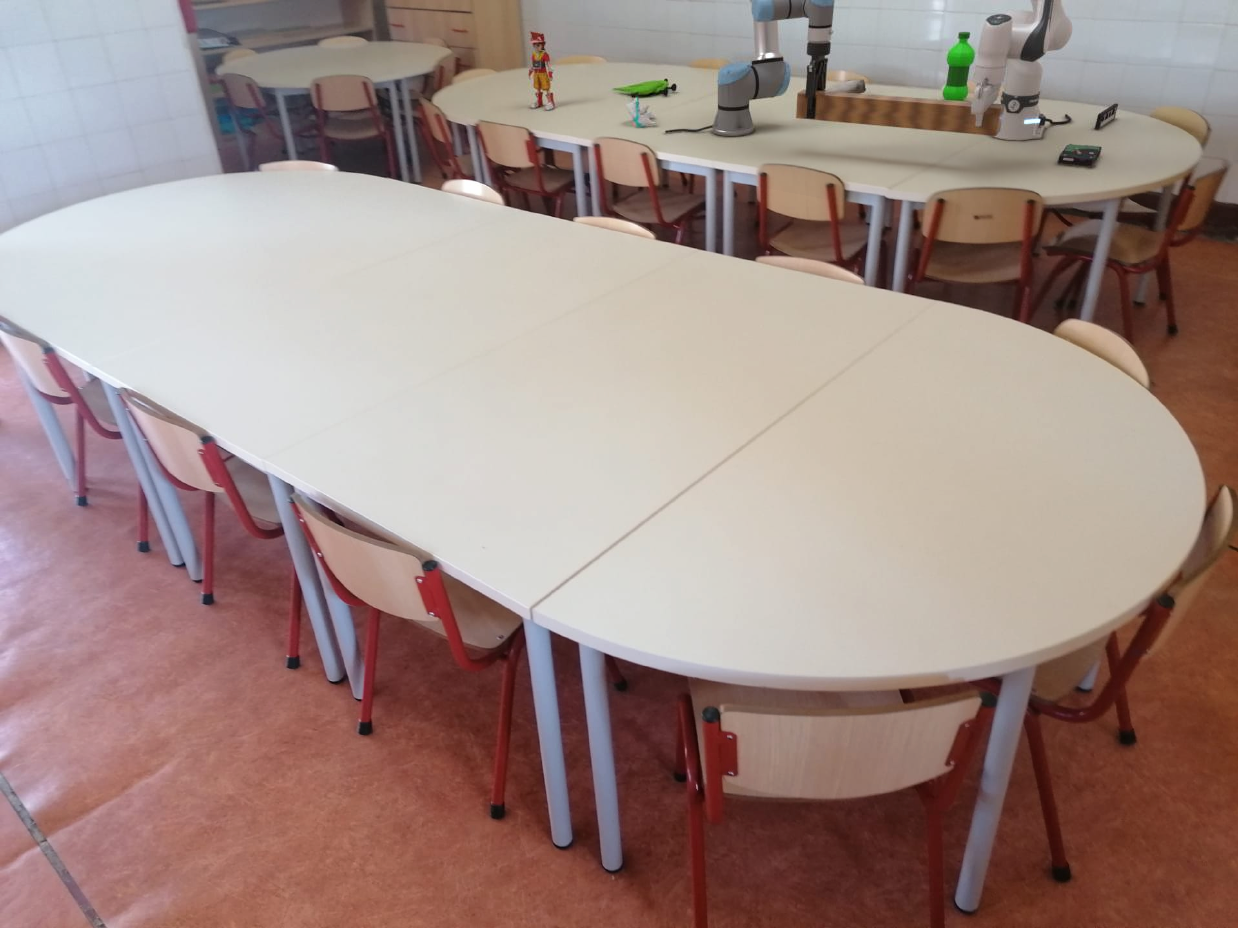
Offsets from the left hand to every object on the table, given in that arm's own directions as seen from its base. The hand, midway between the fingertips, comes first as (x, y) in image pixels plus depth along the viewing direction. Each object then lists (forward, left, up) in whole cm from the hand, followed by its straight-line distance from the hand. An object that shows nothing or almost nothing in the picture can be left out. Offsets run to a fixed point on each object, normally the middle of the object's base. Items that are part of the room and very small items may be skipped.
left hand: (813, 116), depth 303 cm
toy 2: (-102, +61, -12) cm, 119 cm away
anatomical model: (-76, +14, -12) cm, 78 cm away
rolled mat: (-16, +70, -12) cm, 73 cm away
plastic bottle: (+28, +83, -12) cm, 88 cm away
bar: (+27, 0, -1) cm, 27 cm away
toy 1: (-129, +23, -12) cm, 132 cm away
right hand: (+54, 0, +2) cm, 54 cm away
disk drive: (+82, +20, -12) cm, 86 cm away
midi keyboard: (+84, +67, -12) cm, 109 cm away
